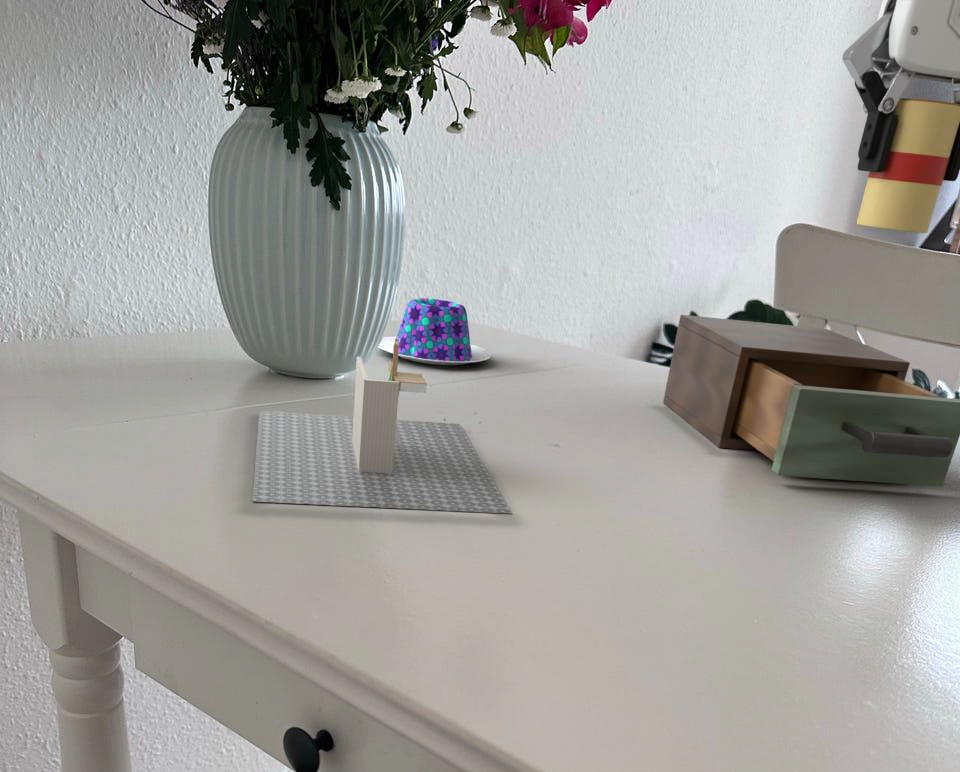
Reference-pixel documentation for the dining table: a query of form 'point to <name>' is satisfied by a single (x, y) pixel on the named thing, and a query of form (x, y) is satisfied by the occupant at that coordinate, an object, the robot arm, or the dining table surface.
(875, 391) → the drawer
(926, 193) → the biscuit roll
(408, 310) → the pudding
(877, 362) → the cabinet
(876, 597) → the dining table surface
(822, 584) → the dining table surface
